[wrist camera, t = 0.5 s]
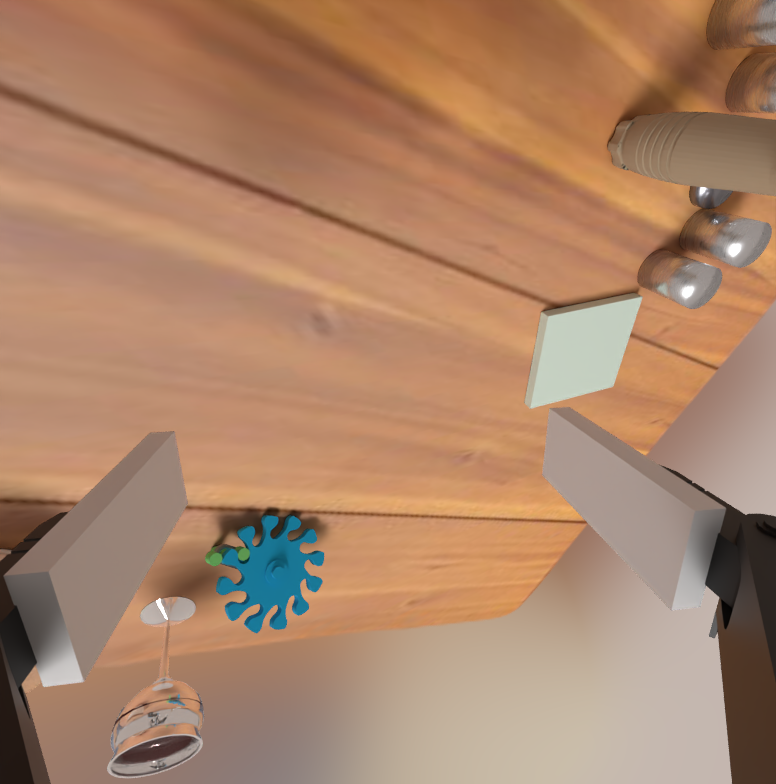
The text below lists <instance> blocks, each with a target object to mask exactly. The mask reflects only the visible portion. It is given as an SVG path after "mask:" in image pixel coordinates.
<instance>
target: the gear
mask: <svg viewBox="0 0 776 784" xmlns="http://www.w3.org/2000/svg"><path fill="white" fill-rule="evenodd" d="M261 522H262V526H263V534H262V537H261V540H260V542H259V544H258V545H257V546H253V544H252V540H253V538H254V535H255V529H254V527H253V526H246V527H243V528H241V529H240V530H238V532H237V535H238V537H239V538H240V539H241V540H242V541H243V542H244V544H245V546H246V548H244V547H241V546H239V547H233V546H230V545H227V544H221V545H219V546H215V547H213V548H212V549H211V551H210V552H208V553H207V555H206V557H205V560H206V562H207V563H208V564H210V565H212V566H217V565H219V564H222V565H226V566H229V567H232V568H235V569H238V570H239V571H240V573H241V575H242V578H241V580H240V582H238V583H236V584H234V583H233V582H232V581H231V580H230V579H229V578H227V577H220V578H219V579H218V582H217V586H216V592H218V593H219V594H221V595H226V594H228V593H230V592H232V591H244V592H246V594H247V597H246V599H245V601H244V602H242V603H237V602H229V603H228V604H226V606H225V611H226V614H227V616H228V618H229V619H230V620H231V621H234V620H236V619H238V618H239V617H240V615H241V614H242V613H243V612H244V611H245V610H246V609H247V608H249V607H251V606H253V605H256V604H260V610H259V612H258V613H256V614H254V615H251V616H249V617H248V618H247V619H246V620H245V623H244V625H245V626H246V627H247V628H248V629H250V630H251V631H253V632H255V633H258V632H259V631H260V629H261V627H262V623H263V620H264V618H265V616H266V614H267V613H268V611H269V610H270V609H271V608H272V607H273V606H274V605H278V610H277V612H276V613H275V614H274V615H273V616H272V618H271V619H270V627H272V628H273V629H278V630H279V629H284V628H285V627H286V625H287V619H286V615H285V612H286V606H287V603H288V600H289V598H290V597H291V596H293V595H294V596H295V600H294V603H293V606H292V610H293V612H294V613H295V614H296V615H298V616H299V615H302V614H303V613H305V612H306V611H307V610H308V609H309V605H308V603H307V602H306V601H305V600H304V599H303V597H302V595H301V590H300V583H301V581H302V580H303V579H306V584H307V588H308V589H309V590H311V591H313V592H317V591H318V589H319V588H320V586H321V584H322V579H321V578H319V577H316V576H311V575H310V574H308V572H307V571H306V570H305V568H304V564H305V562H306V561H307V560H308V559H309V560H310V562H311V563H312V564H314V565H317V566H321V565H322V564H323V561H324V553H323V552H321V551H314V552H312V553H309V554H304V553H302V552H301V551H300V545H301V543H303V542H307V543H315V542H316V541H317V536H316V533H315V531H314V529H306V530H305V531H304V532H303V533H302V534H301V536H299V537H298V538H296V539H294V540H290V541H289V540H288V538H287V535H288V533H289V532H290V531H292V530H296V529H298V528H299V527H300V525H301V522H300V520H299V519H298V518H296V517H295V516H292V515H289V516H288V517H287V518H286V520H285V524H284V527H283V529H282V530H281V532H280V533H279V534H278V535H277V536H276V537H274V538H271V536H270V532H271V530H272V529H273V528H274V527H275V526H276V525H277V524H278V517H276V516H271V515H264V516H263V517H262V520H261Z"/></svg>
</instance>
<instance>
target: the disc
mask: <svg viewBox="0 0 776 784" xmlns="http://www.w3.org/2000/svg"><path fill="white" fill-rule="evenodd" d="M732 192H733V191H731V190H722V189H713V188H705V187H696V186H690V191H689V197H690V201H691V203H692V204H693V205H694V206H697V207H702V208H706V209H712V208H715V207H717V206H719V205H720V204H722V203H723V202H724V201H725V200H726V199H727V198H728V197H729V196H730V195H731V193H732Z"/></svg>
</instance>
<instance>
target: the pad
mask: <svg viewBox="0 0 776 784" xmlns="http://www.w3.org/2000/svg"><path fill="white" fill-rule="evenodd" d="M641 300H642V296H640V295H638V294H636V293H630V294H625V295H621V296H616V297H611V298H606V299H601V300H596V301H591V302H586V303H581V304H576V305H572V306H567V307H562V308H557V309H552V310H547V311H542V312H541V316H540V321H539V327H538V332H537V338H536V343H535V348H534V354H533V359H532V365H531V370H530V375H529V381H528V386H527V392H526V397H525V402H524V403H525V404H526V405H527V406H528V407H529V408H530V409H531V408H535V407H538V406H542V405H546V404H550V403H553V402H557V401H561V400H565V399H568V398H572V397H576V396H580V395H584V394H587V393H591V392H595V391H599V390H602V389H606V388H610V387H613V385H614V382H615V379H616V376H617V373H618V370H619V367H620V364H621V361H622V358H623V355H624V352H625V349H626V346H627V343H628V340H629V337H630V334H631V331H632V328H633V325H634V321H635V318H636V315H637V312H638V309H639V306H640V303H641Z"/></svg>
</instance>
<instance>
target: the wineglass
mask: <svg viewBox="0 0 776 784" xmlns="http://www.w3.org/2000/svg"><path fill="white" fill-rule="evenodd" d="M195 609H196V607H195V604H194V602H193V601H192V600H189V599H187V598H183V597H168V598H163V599H159V600H157V601H154V602H152V603H150V604H149V605H147V606H146V607H145V608H144V609H143V610H142V612H141V615H140V617H141V620H142V621H143V622H144V623H145V624H147V625H150V626H155V627H165V632H164V639H163V647H162V655H161V662H160V670H159V677H158V679H157V680H155V682H154V683H153V684H152V685H151V686H148V687H146V688H144V689H143V690H142V691H140V692H139V693H138V694H137V695H136V696H135V697H134V698H133V699H132V700H131V701H130V702H129V703H128V704H127V705H126V706H125V707H124V708H123V709H122V710H121V712H120V714H119V716H118V718H117V720H116V722H115V725H114V728H113V731H112V736H111V747H112V749H113V751H114V756H113V758H112V759H111V761H110V763H109V765H108V767H107V770H108V772H109V774H110V775H113V776H115V777H120V778H136V777H143V776H148V775H152V774H157V773H160V772H163V771H166V770H169V769H171V768H173V767H176V766H178V765H180V764H182V763H184V762H186V761H187V760H189V759H190V758H192V757H193V756H194V755H195V754H197V753H198V752H199V751H200V749H201V747H202V745H203V742H202V739H201V736H200V734H199V731H200V729H201V727H202V724H203V719H204V713H203V705H202V701H201V698H200V696H199V694H198V693H197V692H196V691H195V690H193V689H192V688H191V687H189V686H188V685H187V684H186V683H184V682H181V681H173V680H172V678H171V677H168V671H169V638H170V626H172V625H176V624H179V623H181V622H184V621H185V620H187V619H188V618H190V617H191V616H192V615H193V614H194V612H195Z"/></svg>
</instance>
